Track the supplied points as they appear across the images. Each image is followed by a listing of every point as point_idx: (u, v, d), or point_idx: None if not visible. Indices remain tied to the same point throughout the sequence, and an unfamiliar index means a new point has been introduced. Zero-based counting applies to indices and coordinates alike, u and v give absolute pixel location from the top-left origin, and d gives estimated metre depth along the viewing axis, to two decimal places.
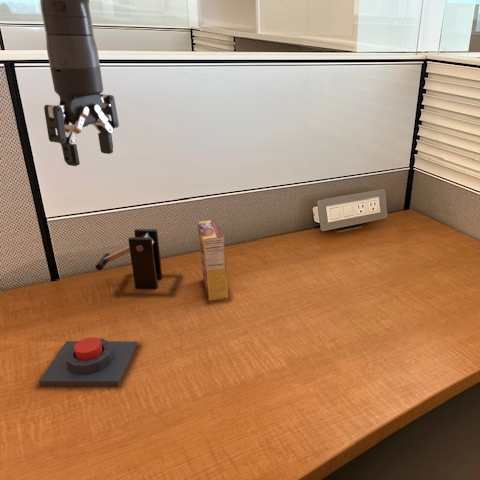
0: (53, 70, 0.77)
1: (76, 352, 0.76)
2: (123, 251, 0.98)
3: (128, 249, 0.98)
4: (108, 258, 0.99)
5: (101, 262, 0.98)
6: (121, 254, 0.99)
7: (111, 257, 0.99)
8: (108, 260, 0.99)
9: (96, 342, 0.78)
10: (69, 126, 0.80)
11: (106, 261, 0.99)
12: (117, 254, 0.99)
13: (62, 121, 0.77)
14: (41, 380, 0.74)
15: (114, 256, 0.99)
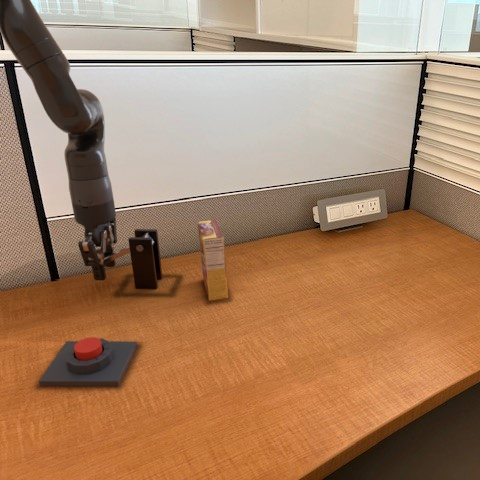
0: (79, 207, 0.91)
1: (76, 352, 0.76)
2: (123, 251, 0.98)
3: (128, 249, 0.98)
4: (108, 258, 0.99)
5: None
6: (121, 254, 0.99)
7: (111, 257, 0.99)
8: (108, 260, 0.99)
9: (96, 342, 0.78)
10: (96, 250, 0.95)
11: (106, 261, 0.99)
12: (117, 254, 0.99)
13: (95, 250, 0.93)
14: (41, 380, 0.74)
15: (114, 256, 0.99)
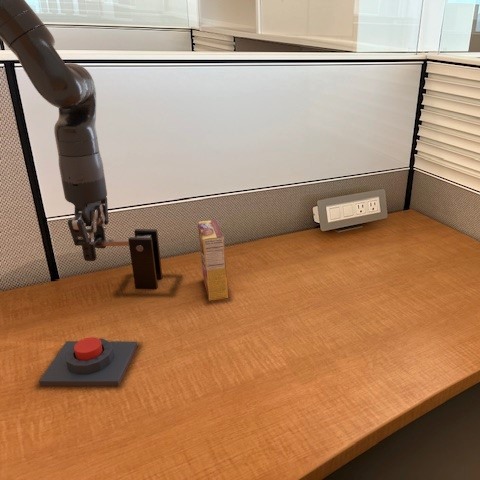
0: (69, 185, 0.89)
1: (76, 352, 0.76)
2: (120, 242, 0.98)
3: (125, 242, 0.98)
4: (101, 242, 0.97)
5: None
6: (116, 244, 0.98)
7: (105, 243, 0.97)
8: (100, 244, 0.98)
9: (96, 342, 0.78)
10: (86, 230, 0.93)
11: (98, 244, 0.97)
12: (112, 242, 0.97)
13: (85, 229, 0.91)
14: (41, 380, 0.74)
15: (108, 243, 0.97)
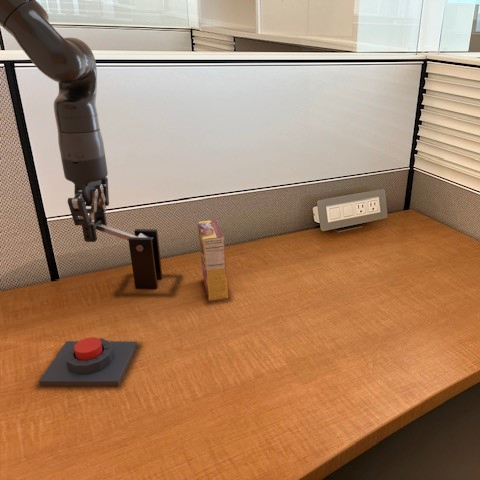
0: (69, 162, 0.87)
1: (76, 352, 0.76)
2: (120, 234, 0.97)
3: (126, 236, 0.97)
4: (102, 228, 0.96)
5: None
6: (116, 234, 0.97)
7: (105, 229, 0.96)
8: (100, 229, 0.96)
9: (96, 342, 0.78)
10: (86, 210, 0.92)
11: (98, 228, 0.96)
12: (113, 232, 0.96)
13: (85, 209, 0.89)
14: (41, 380, 0.74)
15: (109, 231, 0.96)
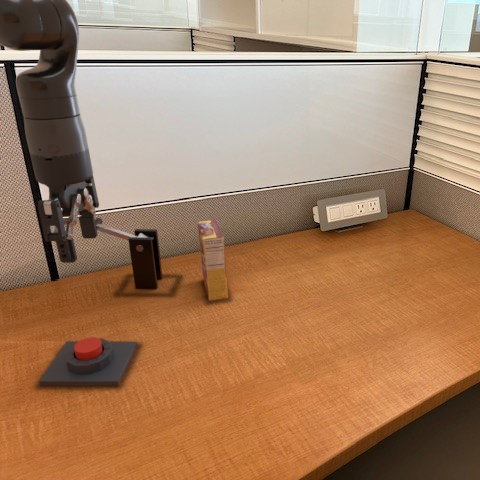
0: (40, 159, 0.65)
1: (76, 352, 0.76)
2: (120, 234, 0.97)
3: (126, 236, 0.97)
4: (102, 228, 0.96)
5: None
6: (116, 235, 0.97)
7: (105, 229, 0.96)
8: (100, 229, 0.96)
9: (96, 342, 0.78)
10: (63, 219, 0.69)
11: (98, 228, 0.96)
12: (113, 232, 0.96)
13: (61, 216, 0.67)
14: (41, 380, 0.74)
15: (109, 231, 0.96)
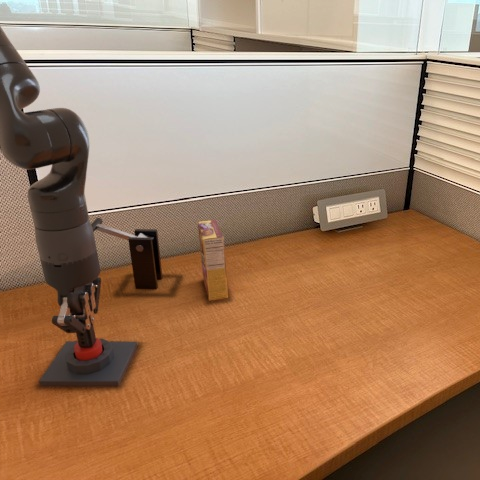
0: (49, 266, 0.67)
1: (76, 352, 0.76)
2: (120, 234, 0.97)
3: (126, 236, 0.97)
4: (102, 228, 0.96)
5: (94, 227, 0.95)
6: (116, 235, 0.97)
7: (105, 229, 0.96)
8: (100, 229, 0.96)
9: (96, 342, 0.78)
10: (78, 316, 0.73)
11: (98, 228, 0.96)
12: (113, 232, 0.96)
13: (76, 321, 0.71)
14: (41, 380, 0.74)
15: (109, 231, 0.96)
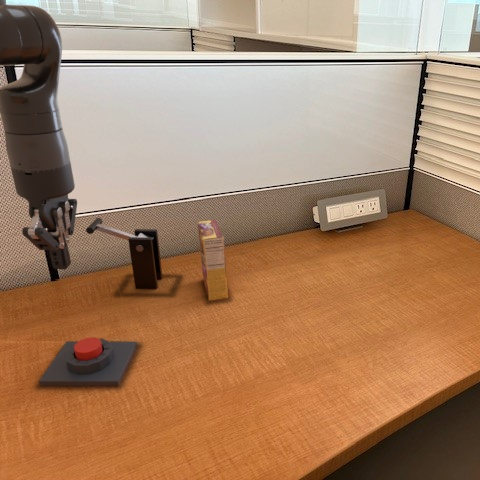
0: (20, 173, 0.65)
1: (76, 352, 0.76)
2: (120, 234, 0.97)
3: (126, 236, 0.97)
4: (102, 228, 0.96)
5: (94, 227, 0.95)
6: (116, 235, 0.97)
7: (105, 229, 0.96)
8: (100, 229, 0.96)
9: (96, 342, 0.78)
10: (51, 233, 0.71)
11: (98, 228, 0.96)
12: (113, 232, 0.96)
13: (48, 235, 0.69)
14: (41, 380, 0.74)
15: (109, 231, 0.96)
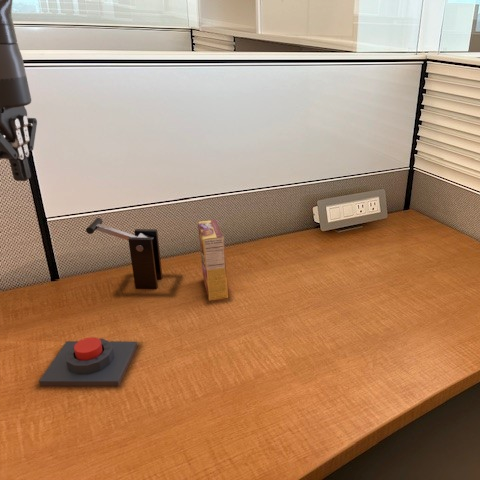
0: None
1: (76, 352, 0.76)
2: (120, 234, 0.97)
3: (126, 236, 0.97)
4: (102, 228, 0.96)
5: (94, 227, 0.95)
6: (116, 235, 0.97)
7: (105, 229, 0.96)
8: (100, 229, 0.96)
9: (96, 342, 0.78)
10: (10, 144, 0.78)
11: (98, 228, 0.96)
12: (113, 232, 0.96)
13: (6, 142, 0.76)
14: (41, 380, 0.74)
15: (109, 231, 0.96)
